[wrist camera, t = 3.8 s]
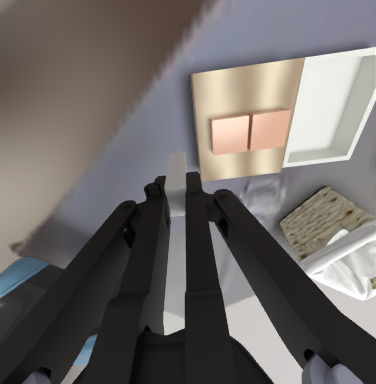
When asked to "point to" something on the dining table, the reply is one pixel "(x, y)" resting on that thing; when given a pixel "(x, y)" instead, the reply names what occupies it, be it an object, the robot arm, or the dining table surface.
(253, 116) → the tile
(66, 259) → the dining table surface
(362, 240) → the storage basket
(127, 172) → the dining table surface
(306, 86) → the box
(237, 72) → the tan wooden block
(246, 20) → the dining table surface
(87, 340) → the robot arm
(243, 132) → the tile
